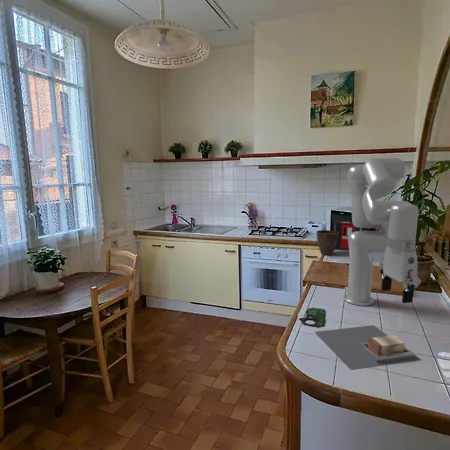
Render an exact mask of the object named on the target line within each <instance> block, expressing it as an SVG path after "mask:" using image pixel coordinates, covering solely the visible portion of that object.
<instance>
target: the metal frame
mask: <svg viewBox="0 0 450 450" xmlns="http://www.w3.org/2000/svg"><path fill="white" fill-rule="evenodd" d="M359 348H360V349H361V350H362V351H364V352H365V353H366V354H367V355H368V356H369V357H370V358H372V359H373V360H374V361H375V362H376V363H379V362H386V361H394V360H401V359H408V358H414V355H415V352H413V351H412V350H411V349H410V348H408V347H406V346H405V345H404V353H397V354H389V355H382V356H377V355H376V354H375V353H373V352H372V351H371V350H370V349H369V348H368V342H362V343H359Z"/></svg>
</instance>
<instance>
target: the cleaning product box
mask: <svg viewBox="0 0 450 450" xmlns="http://www.w3.org/2000/svg"><path fill="white" fill-rule="evenodd" d="M334 231H337V232H339V235H338V240H337V243H336V247H335V249H334V251H335V250H336V251H338V250H339V251H349V244H348V238H349V235H350V234H351V233H353V232H356V231H360V228H359V227H355V226H354V225H353V223H352V221H343V220H342V221H339V220H337V221H334Z"/></svg>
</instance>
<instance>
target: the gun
mask: <svg viewBox="0 0 450 450" xmlns="http://www.w3.org/2000/svg"><path fill="white" fill-rule="evenodd" d="M305 313H306V315H305V317H299V318H298V320H299V321H301V324H302V325H303V326H306V327H315V328H318V329H319V328H320V327H321V328H324V327H325V324H326V322H327V321H326V309H324V308H318V307H309V308H308V309H307V310H306V311H305ZM307 321H311V322H314V323H307Z"/></svg>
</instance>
